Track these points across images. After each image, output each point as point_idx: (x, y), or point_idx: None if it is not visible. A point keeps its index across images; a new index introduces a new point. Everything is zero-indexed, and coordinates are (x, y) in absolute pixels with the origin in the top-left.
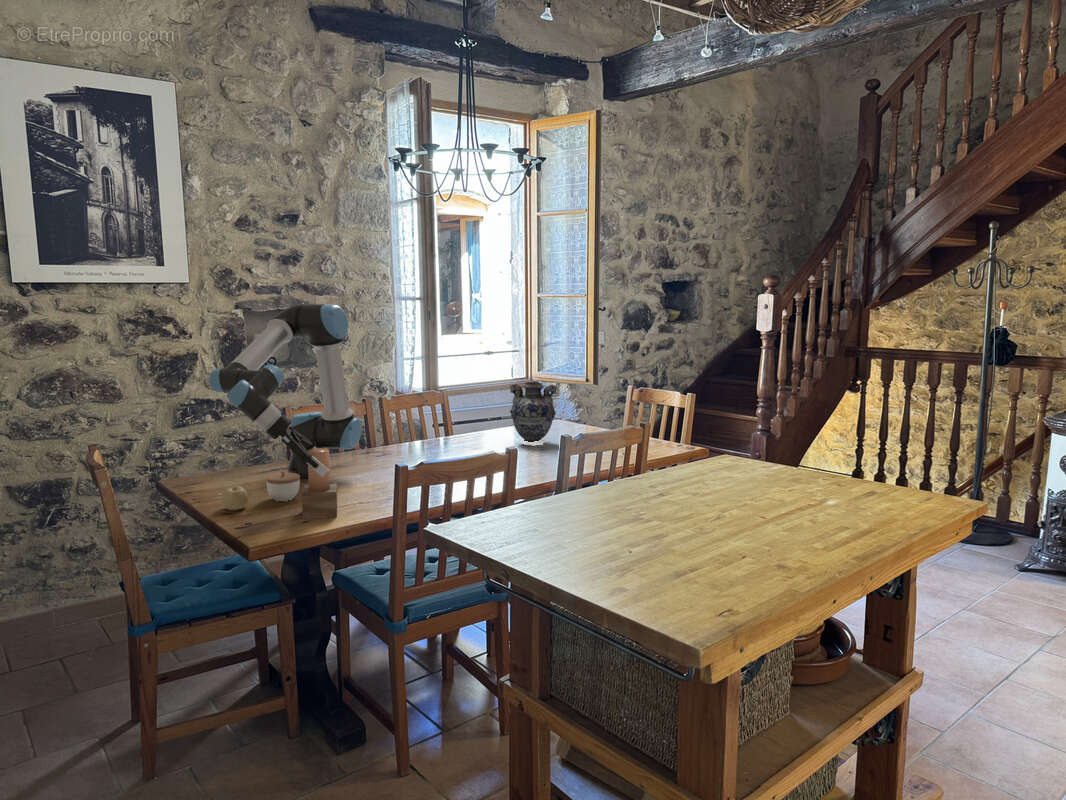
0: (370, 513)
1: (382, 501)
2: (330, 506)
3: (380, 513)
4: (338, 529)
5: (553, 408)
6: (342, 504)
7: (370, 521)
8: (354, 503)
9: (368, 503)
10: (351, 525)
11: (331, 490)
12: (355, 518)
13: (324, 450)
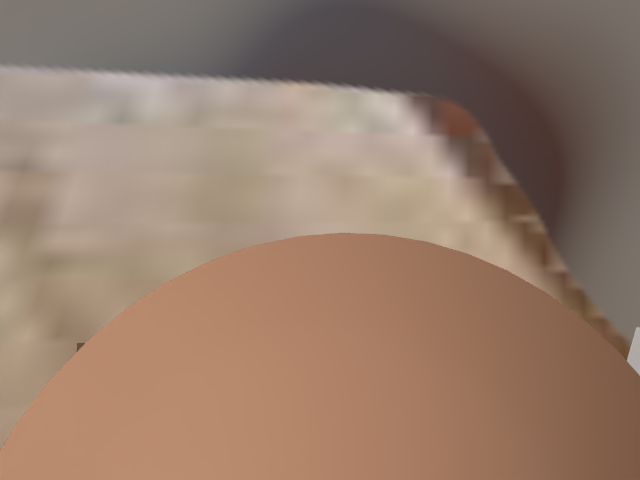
0: (307, 162)
1: (30, 83)
2: None
3: (315, 108)
4: (626, 343)
5: None
6: (24, 355)
7: (471, 165)
8: (23, 264)
9: (55, 169)
10: (547, 269)
11: None
12: None
13: (373, 381)
